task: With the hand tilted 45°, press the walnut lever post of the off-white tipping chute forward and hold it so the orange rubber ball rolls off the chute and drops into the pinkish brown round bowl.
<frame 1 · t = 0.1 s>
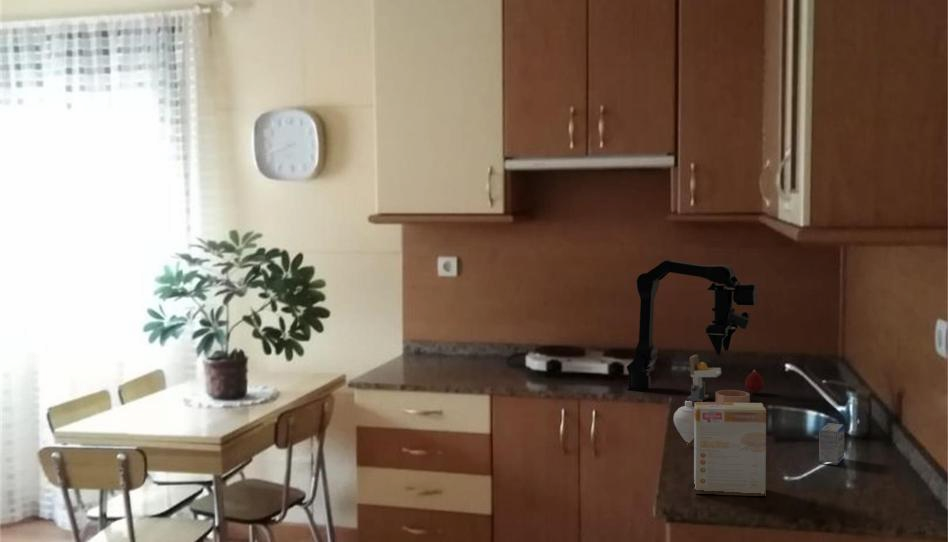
hand: (722, 352, 300), 15 cm above the counter, tool pointing down, fingers open, 9 cm apart
coffeecake box: (728, 492, 207), on the counter
lever chute: (705, 372, 297), point 9 cm above the counter, hinge at -5.0°, touching ball
stand: (697, 399, 299), on the counter
onion: (754, 394, 306), on the counter
spinning top: (688, 447, 244), on the counter
ball: (701, 367, 298), point 10 cm above the counter, tilted 20°, touching lever chute
pinkish brown round bowl: (732, 402, 294), on the counter
medicine box: (831, 462, 229), on the counter
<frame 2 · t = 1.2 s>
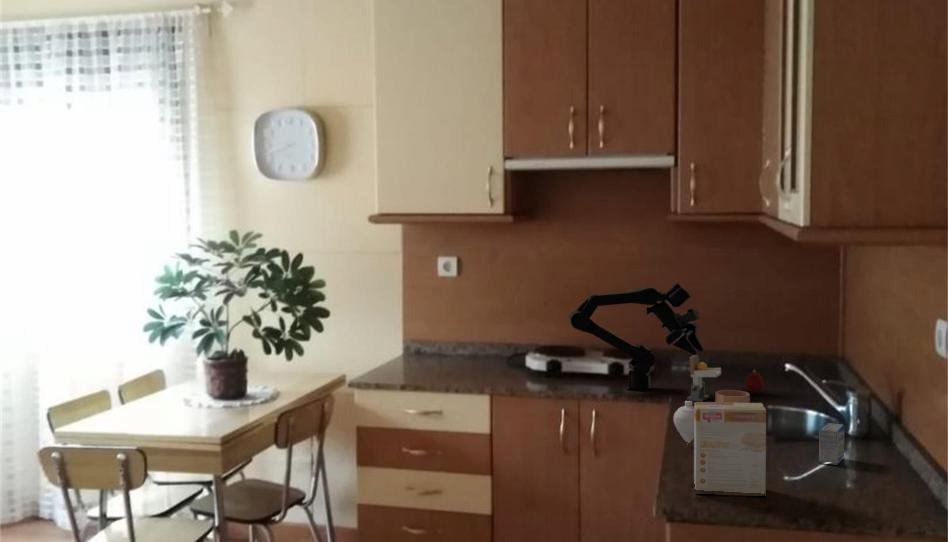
hand: (699, 352, 308), 13 cm above the counter, tool tilted 45°, fingers open, 7 cm apart
nothing on the counter moved.
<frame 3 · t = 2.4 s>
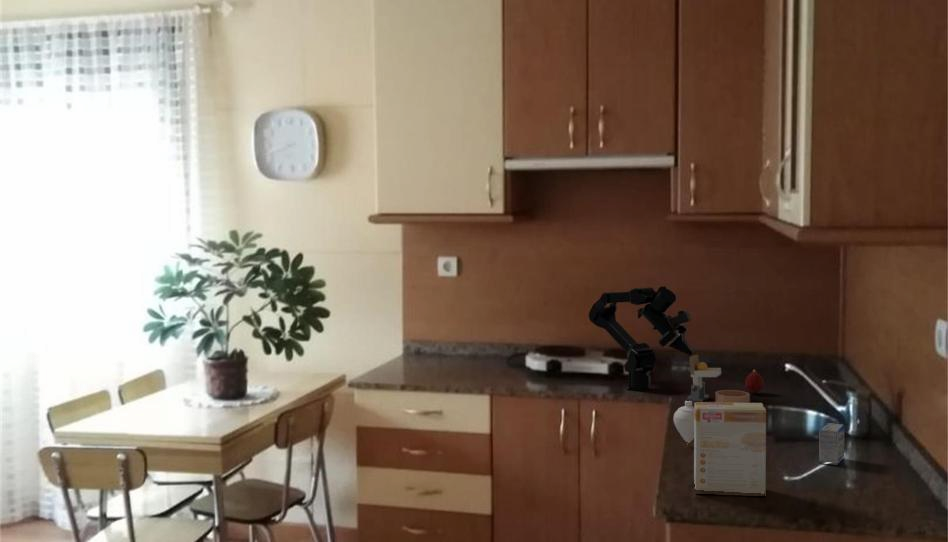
hand: (692, 354, 303), 14 cm above the counter, tool tilted 45°, fingers closed
nothing on the counter moved.
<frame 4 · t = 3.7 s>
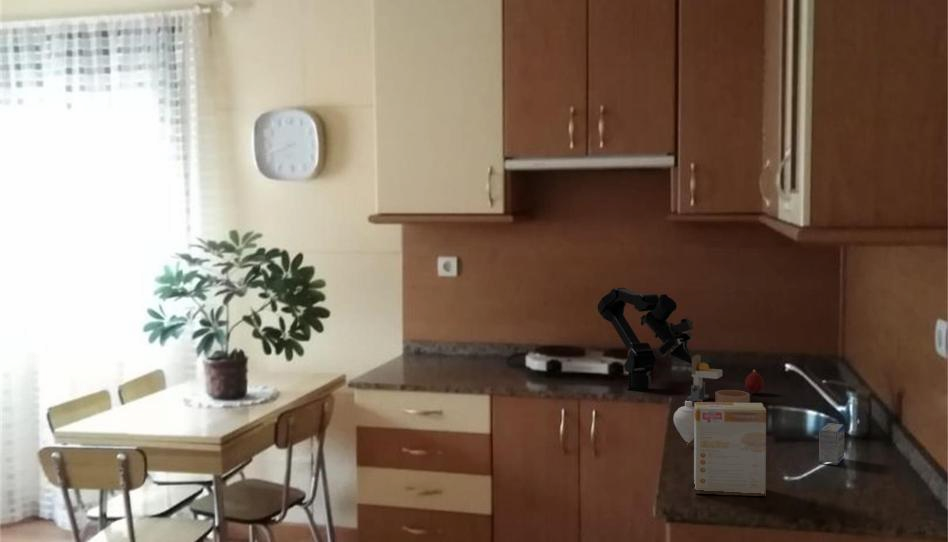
hand: (693, 363, 299), 12 cm above the counter, tool tilted 45°, fingers closed, pressing on lever chute
lever chute: (707, 372, 297), point 9 cm above the counter, hinge at -0.4°, touching ball, gripper
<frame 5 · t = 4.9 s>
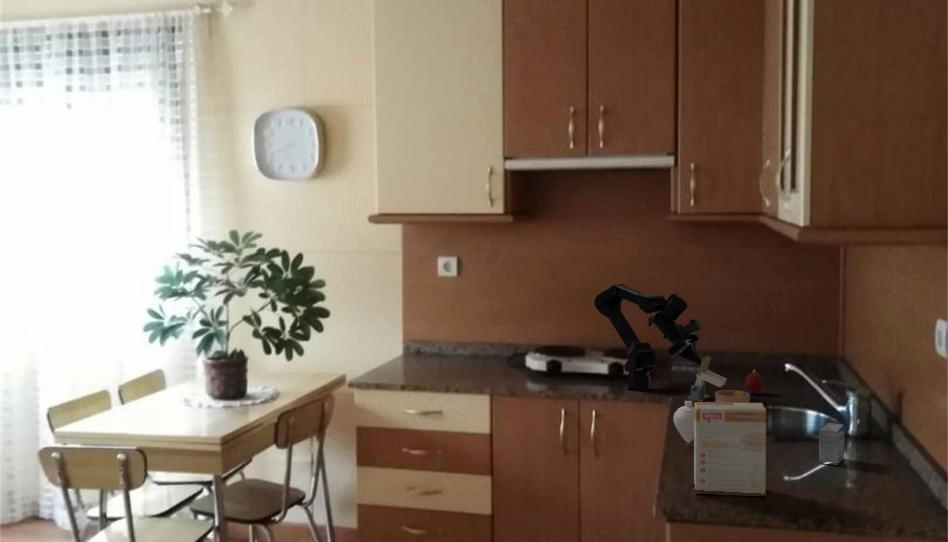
hand: (702, 364, 298), 11 cm above the counter, tool tilted 45°, fingers closed, pressing on lever chute
lever chute: (711, 377, 297), point 8 cm above the counter, hinge at 20.0°, touching gripper
ball: (738, 396, 293), point 2 cm above the counter, tilted 12°, touching pinkish brown round bowl
everything else where it was.
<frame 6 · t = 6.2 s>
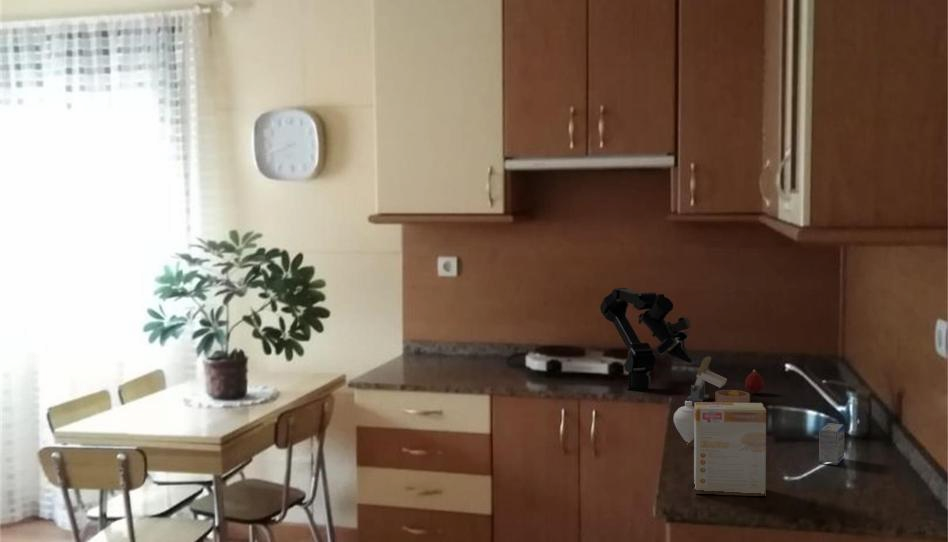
hand: (691, 362, 300), 12 cm above the counter, tool tilted 45°, fingers closed
lever chute: (711, 377, 297), point 7 cm above the counter, hinge at 20.7°
ball: (733, 395, 294), point 2 cm above the counter, tilted 62°, touching pinkish brown round bowl
everything else where it was.
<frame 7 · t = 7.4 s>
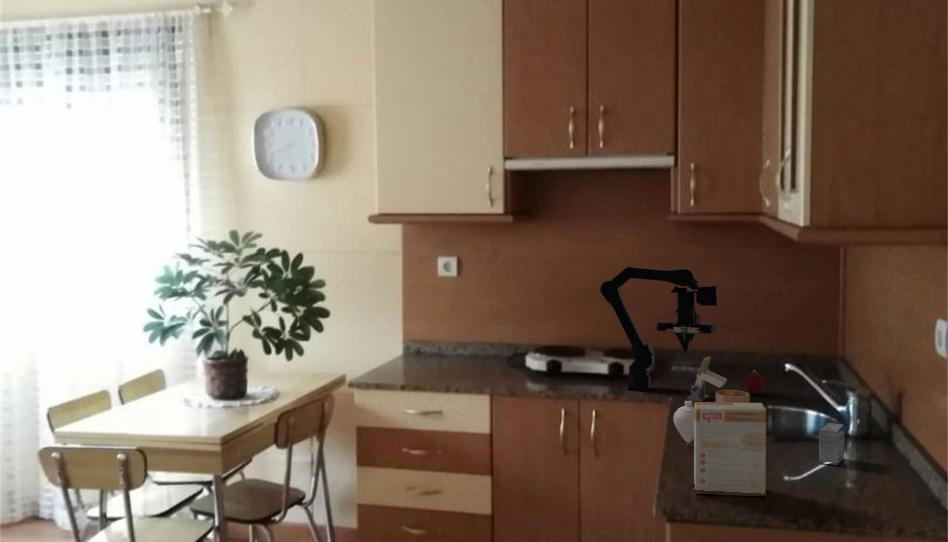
hand: (686, 352, 310), 13 cm above the counter, tool pointing down, fingers closed
ball: (729, 395, 294), point 2 cm above the counter, tilted 108°, touching pinkish brown round bowl
everything else where it was.
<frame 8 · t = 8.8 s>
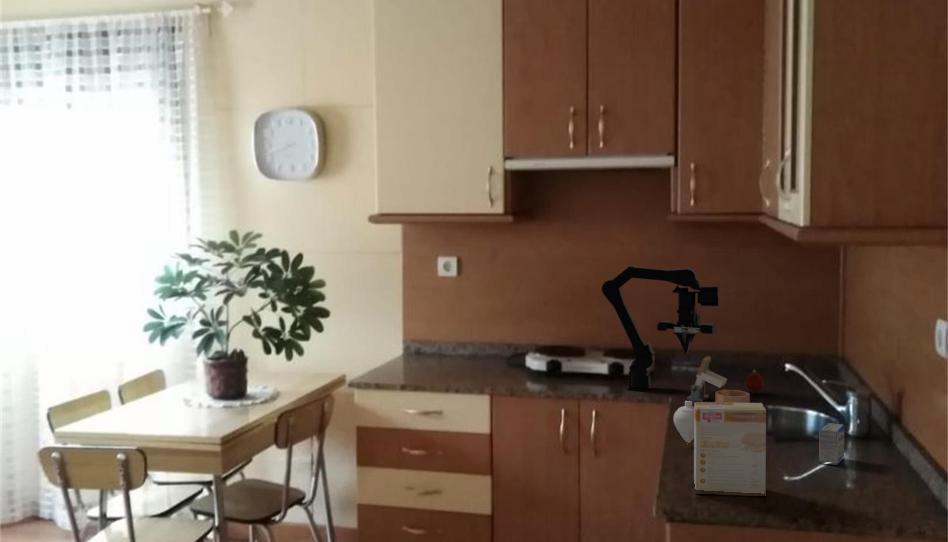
hand: (686, 352, 310), 13 cm above the counter, tool pointing down, fingers closed
ball: (724, 394, 295), point 2 cm above the counter, tilted 161°, touching pinkish brown round bowl
everything else where it was.
at the end: ball 2.6 cm off-centre on the pinkish brown round bowl, point 2.2 cm above the pinkish brown round bowl's base; lever chute at +21° (first picture: -5°); onion moved 0.2 cm from its start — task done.
